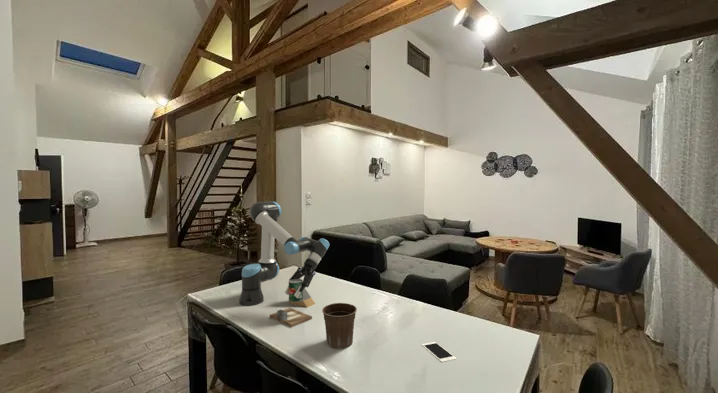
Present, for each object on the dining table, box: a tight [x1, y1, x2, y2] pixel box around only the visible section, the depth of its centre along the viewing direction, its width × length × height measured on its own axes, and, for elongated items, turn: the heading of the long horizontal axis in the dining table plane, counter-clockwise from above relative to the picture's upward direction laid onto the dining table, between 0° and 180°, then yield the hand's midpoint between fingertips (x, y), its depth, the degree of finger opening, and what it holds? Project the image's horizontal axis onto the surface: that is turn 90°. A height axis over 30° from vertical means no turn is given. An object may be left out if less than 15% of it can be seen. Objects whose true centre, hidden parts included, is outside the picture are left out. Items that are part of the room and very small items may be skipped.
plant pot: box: [321, 302, 358, 350], centre depth 146 cm, size 16×16×16 cm
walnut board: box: [269, 307, 313, 328], centre depth 175 cm, size 20×14×6 cm
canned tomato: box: [288, 278, 303, 302], centre depth 177 cm, size 8×8×11 cm
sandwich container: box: [288, 287, 316, 308], centre depth 199 cm, size 9×15×15 cm, turn 60°
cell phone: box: [421, 341, 457, 363], centre depth 139 cm, size 8×16×1 cm, turn 20°
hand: (290, 295), depth 175 cm, fingers closed on canned tomato, 8 cm apart
